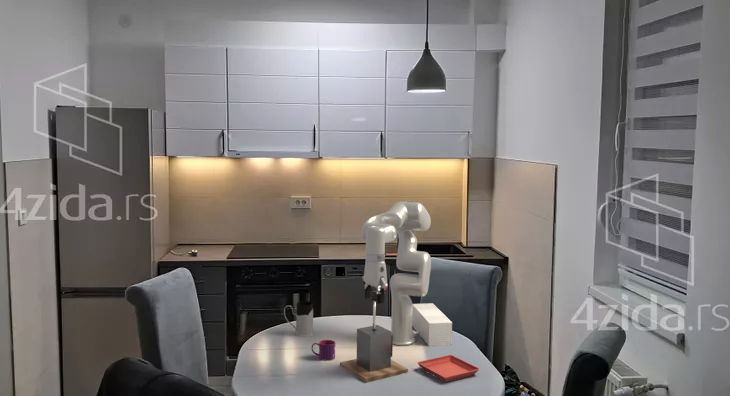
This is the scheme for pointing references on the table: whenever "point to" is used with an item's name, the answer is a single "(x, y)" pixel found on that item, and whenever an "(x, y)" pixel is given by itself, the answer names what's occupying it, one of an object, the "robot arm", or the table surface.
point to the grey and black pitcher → (303, 319)
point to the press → (374, 348)
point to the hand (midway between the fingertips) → (374, 300)
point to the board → (374, 375)
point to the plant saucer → (448, 367)
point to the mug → (326, 350)
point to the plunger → (374, 306)
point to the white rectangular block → (432, 324)
